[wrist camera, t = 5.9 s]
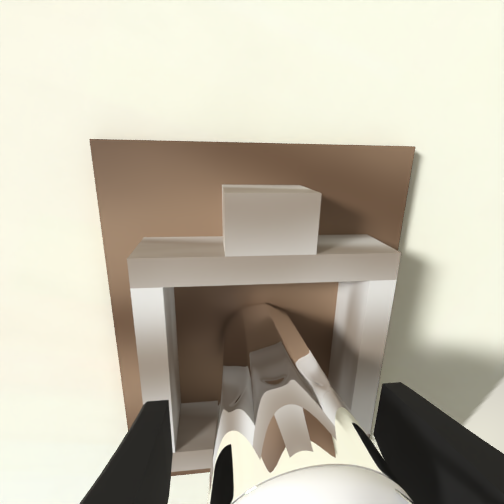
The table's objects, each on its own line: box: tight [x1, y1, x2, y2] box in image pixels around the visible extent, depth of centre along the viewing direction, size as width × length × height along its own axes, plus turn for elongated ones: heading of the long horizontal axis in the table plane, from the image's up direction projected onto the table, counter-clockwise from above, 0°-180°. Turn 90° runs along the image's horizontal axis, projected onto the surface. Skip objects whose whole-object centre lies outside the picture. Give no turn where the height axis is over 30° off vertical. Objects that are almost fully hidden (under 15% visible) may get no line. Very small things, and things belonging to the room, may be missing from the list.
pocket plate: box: [90, 139, 415, 476], centre depth 13 cm, size 16×12×3 cm
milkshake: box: [207, 303, 415, 504], centre depth 9 cm, size 4×5×10 cm
